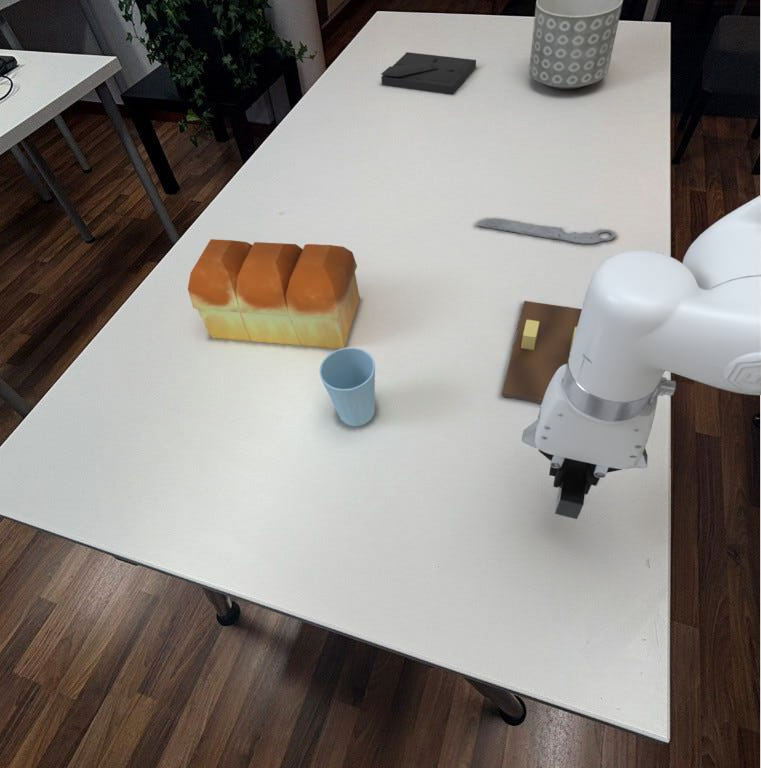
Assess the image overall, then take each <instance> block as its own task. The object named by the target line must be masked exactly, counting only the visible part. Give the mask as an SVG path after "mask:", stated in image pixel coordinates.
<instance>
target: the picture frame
mask: <svg viewBox="0 0 761 768" xmlns="http://www.w3.org/2000/svg"><path fill="white" fill-rule="evenodd" d="M476 69H477V59H473V58H472V59H470V58H463V57H455V56H446V55H445V56H444V55H436V54H428V53H427V54H426V53H419V52H408V51H406V52H405V53H404V54H403V55H402V56H401V57H400V58H399V60H397V61H396V62H395V63H394V64H393V65H392V66H388V68H386V69H385V70H383V72H381V73H380V75H381V79H380V80H381V85H382V86H387V87H395V88H402V89H409V90H416V91H422V92H423V91H424V92H431V93H437V94H445V95H454V94H455V93H456V92H457V91H458V89H459V88H460V87H461V86H462V85H463V84H464V82H465V81H467V79H468V78H469V77H470V75H472V73H473V72H474V71H475V70H476Z"/></svg>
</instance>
